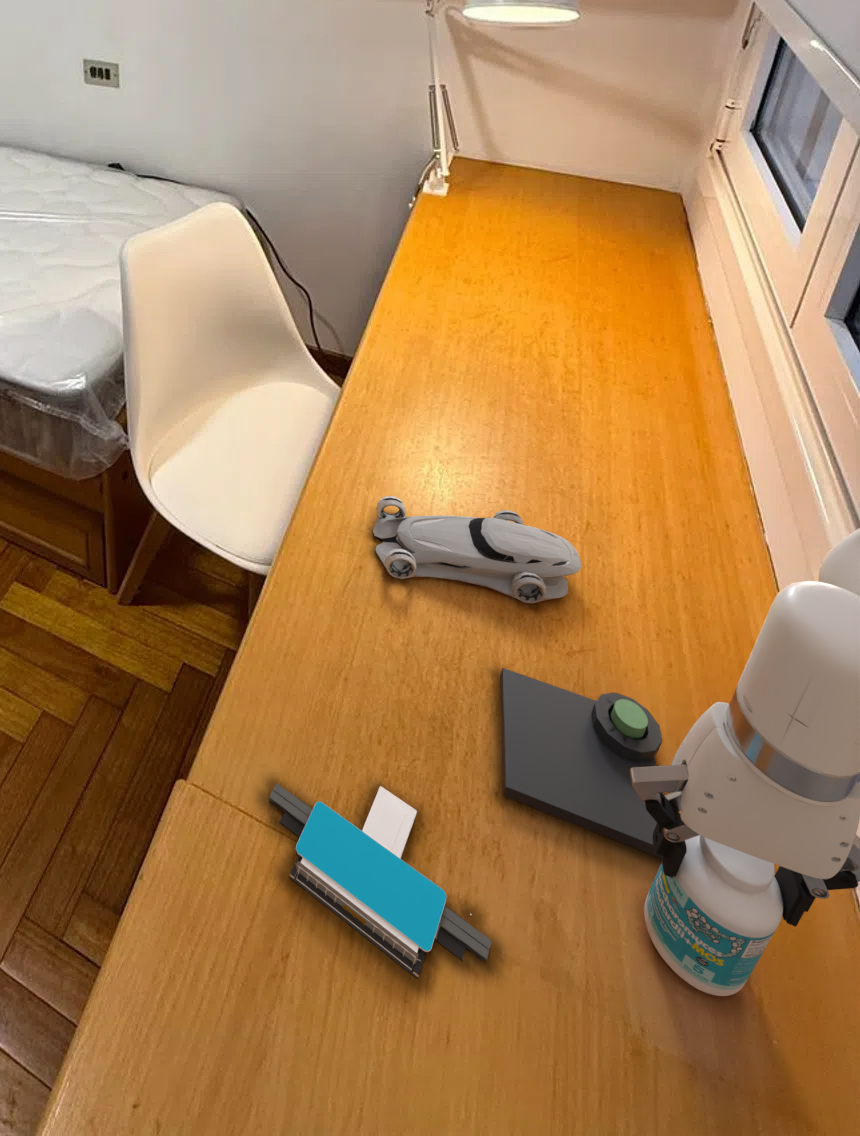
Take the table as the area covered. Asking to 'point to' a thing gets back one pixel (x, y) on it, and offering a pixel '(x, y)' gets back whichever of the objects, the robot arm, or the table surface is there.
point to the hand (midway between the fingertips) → (723, 879)
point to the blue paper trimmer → (374, 879)
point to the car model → (476, 551)
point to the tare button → (629, 719)
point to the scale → (575, 758)
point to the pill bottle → (714, 915)
